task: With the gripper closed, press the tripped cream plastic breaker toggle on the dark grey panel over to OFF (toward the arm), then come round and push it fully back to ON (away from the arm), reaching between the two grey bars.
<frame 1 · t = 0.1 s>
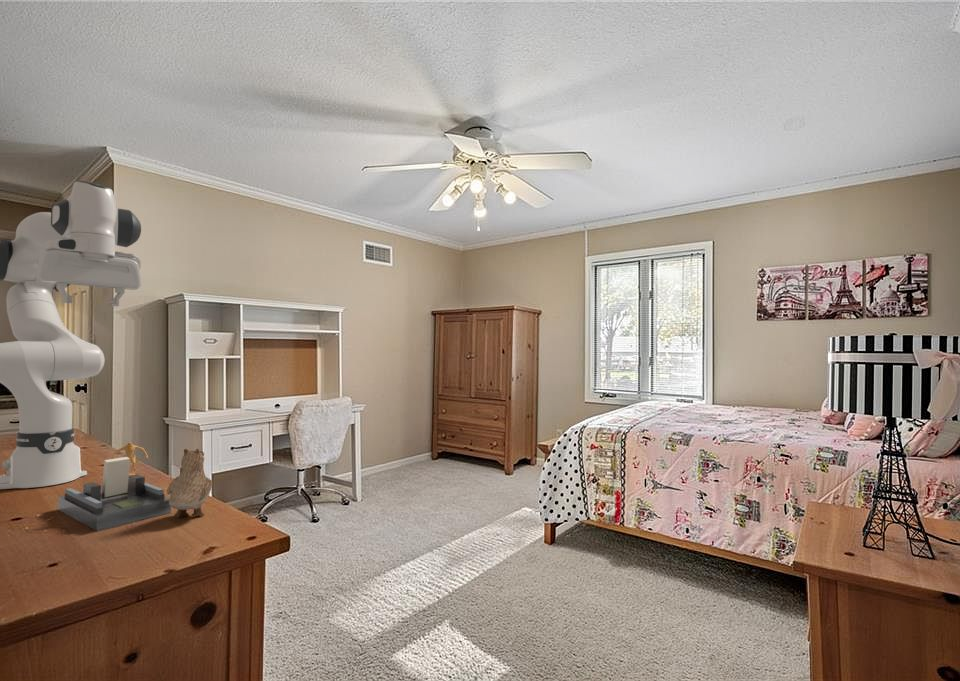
hand: (91, 304, 120), 48 cm above the table, fingers open, 8 cm apart
figurine 2: (129, 488, 131), on the table
pair of grey bars: (114, 493, 112), point 3 cm above the table
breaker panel: (114, 511, 112), on the table
lever: (115, 478, 112), point 8 cm above the table, hinge at 8.0°
figurine: (189, 517, 109), on the table
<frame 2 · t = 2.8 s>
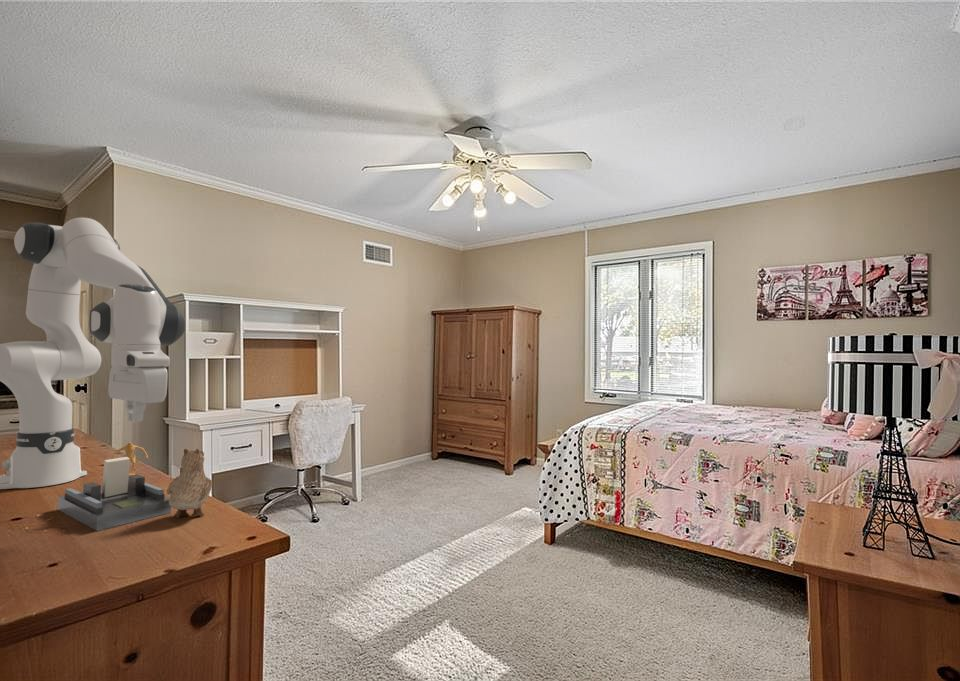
hand: (135, 421, 107), 21 cm above the table, fingers closed
nothing on the table moved.
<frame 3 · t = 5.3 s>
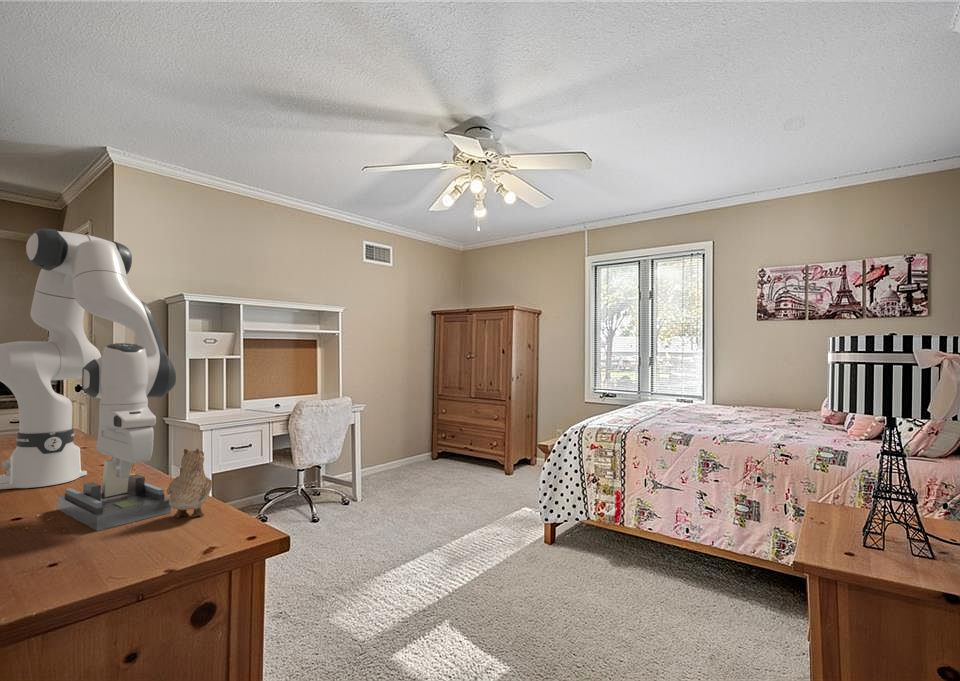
hand: (122, 477, 110), 8 cm above the table, fingers closed
lever: (115, 478, 112), point 8 cm above the table, hinge at 7.7°, touching gripper
everything else where it was.
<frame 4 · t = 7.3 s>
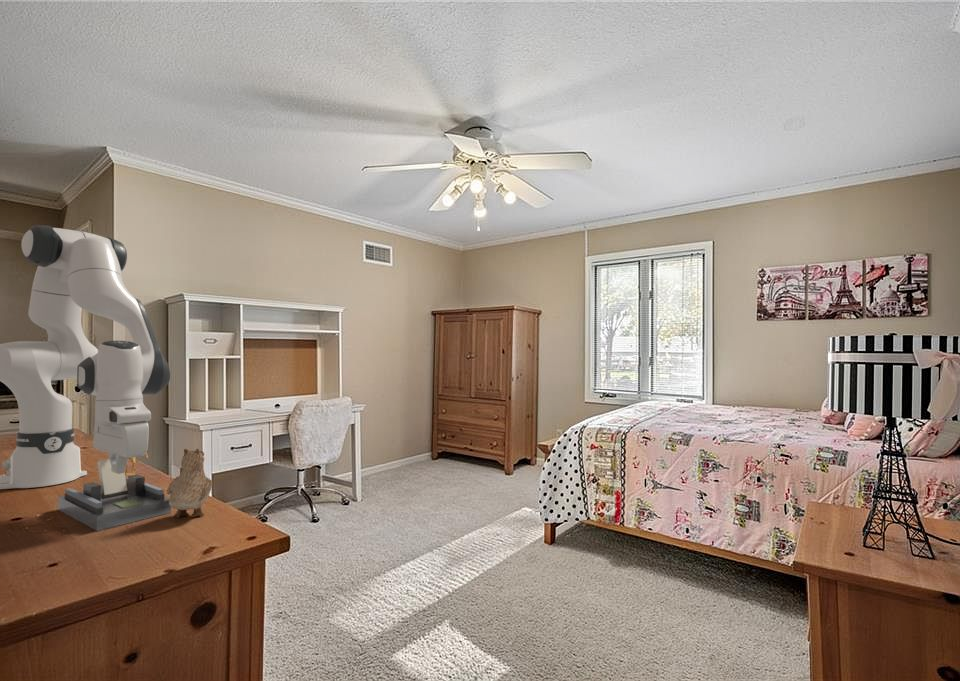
hand: (118, 472, 112), 9 cm above the table, fingers closed
lever: (112, 477, 113), point 7 cm above the table, hinge at -22.7°
everything else where it was.
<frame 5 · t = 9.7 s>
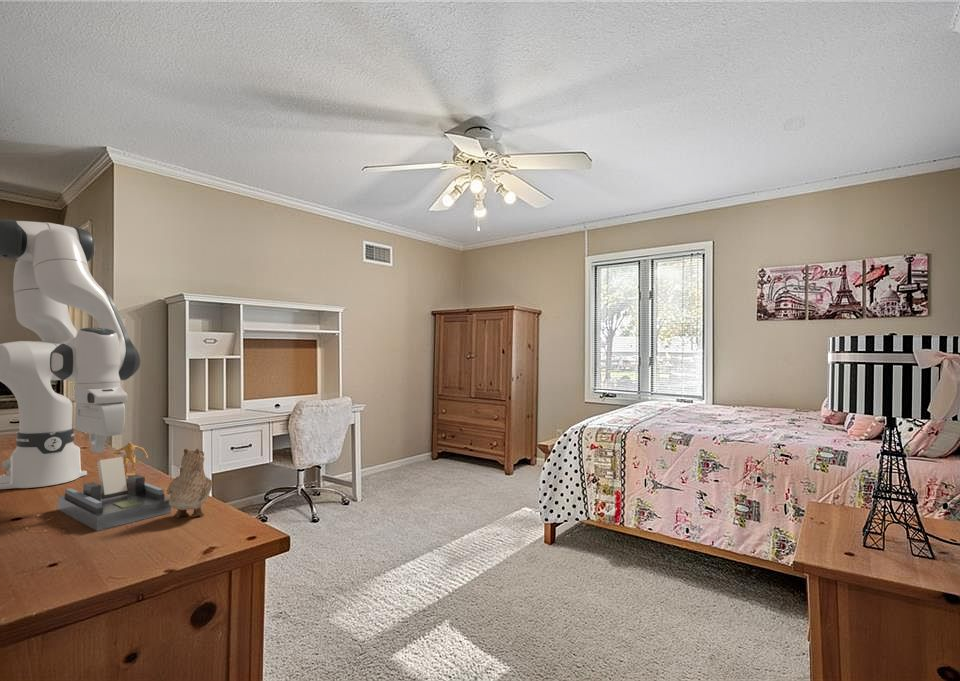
hand: (97, 451, 118), 12 cm above the table, fingers closed
nothing on the table moved.
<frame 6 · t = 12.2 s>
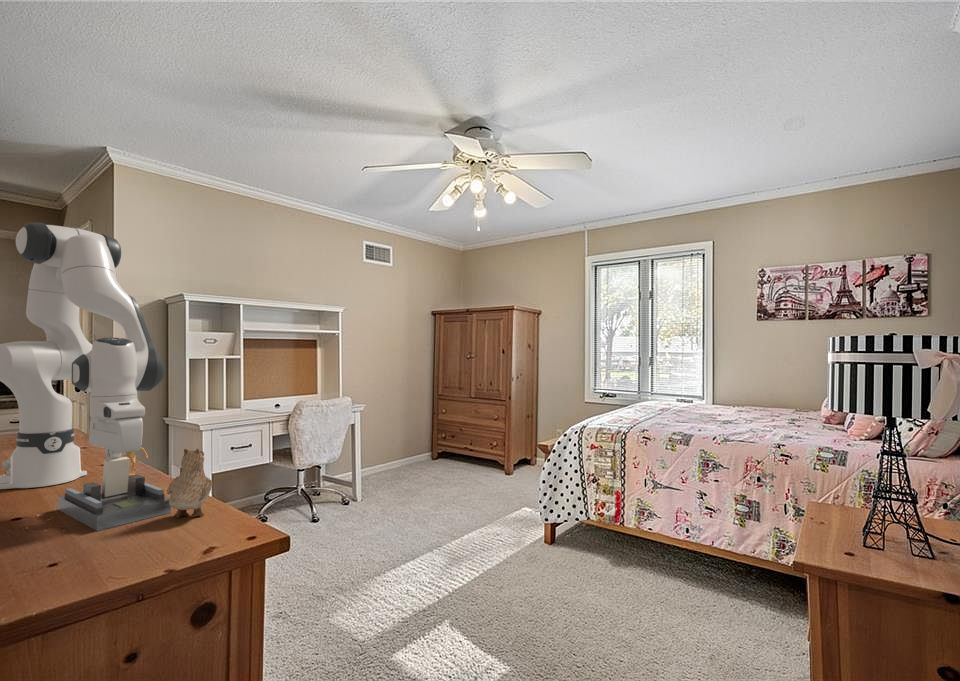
hand: (113, 467, 113), 10 cm above the table, fingers closed, pressing on lever
lever: (115, 477, 112), point 8 cm above the table, hinge at 6.9°, touching gripper
everything else where it was.
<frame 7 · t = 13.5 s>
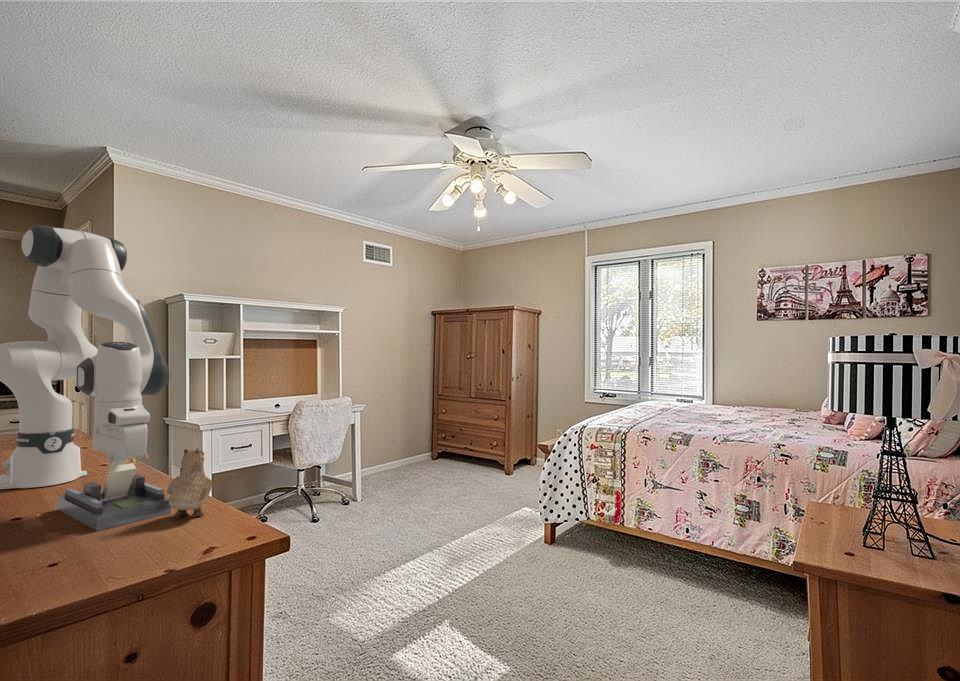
hand: (117, 473, 112), 9 cm above the table, fingers closed
lever: (118, 481, 111), point 7 cm above the table, hinge at 34.8°, touching gripper
everything else where it was.
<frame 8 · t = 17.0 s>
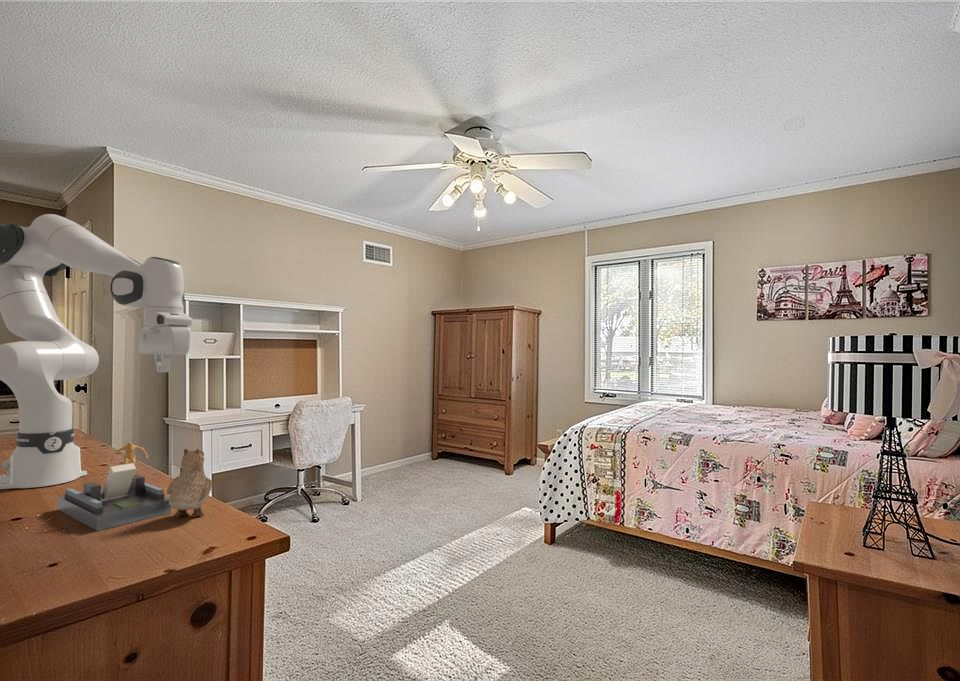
hand: (162, 372, 128), 31 cm above the table, fingers closed
lever: (118, 481, 111), point 7 cm above the table, hinge at 35.0°
everything else where it was.
at the end: lever at +35° (first picture: +8°) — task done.
